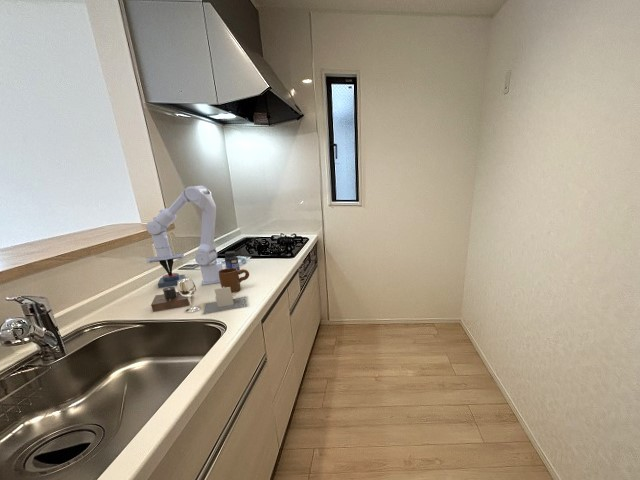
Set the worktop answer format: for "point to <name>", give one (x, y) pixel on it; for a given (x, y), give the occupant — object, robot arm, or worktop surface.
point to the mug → (232, 278)
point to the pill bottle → (231, 260)
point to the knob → (169, 292)
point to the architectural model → (224, 301)
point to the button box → (170, 280)
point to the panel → (169, 302)
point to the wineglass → (187, 291)
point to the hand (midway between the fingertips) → (170, 275)
